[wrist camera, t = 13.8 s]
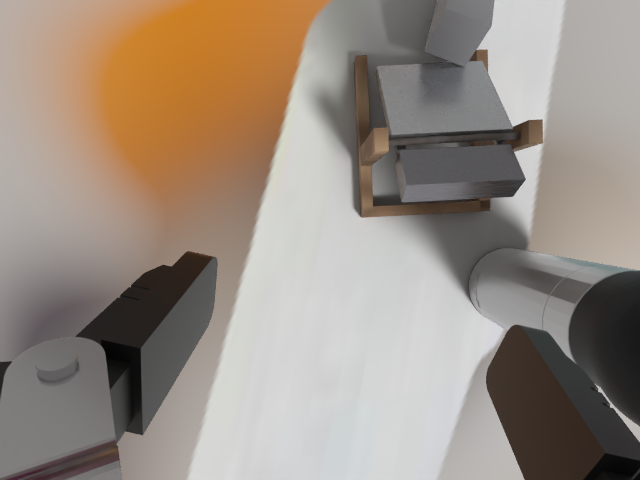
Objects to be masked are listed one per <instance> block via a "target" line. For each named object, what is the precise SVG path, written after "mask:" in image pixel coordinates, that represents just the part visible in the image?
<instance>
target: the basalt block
mask: <svg viewBox="0 0 640 480" xmlns="http://www.w3.org/2000/svg"><path fill="white" fill-rule="evenodd" d="M493 8H494V0H436V4H435V9H434V13H433V17H432V21H431V25H430V29H429V33H428V38H427V42H426V46H425V50H424V52H426V53H429V54H431V55H434V56H437V57H439V58H442V59H445V60H447V61H450V62H453V63H455V64H458V65H461V66H463V67H465V66H466V65H467V63H468V62H469V60H470V58H471V57H472V55H473V54H474V52H475V51H476V49H477V48H478V46H479V44H480V43H481V41H482V40H483V38H484V37H485V35H486V34H487V32H488V31H489V29H490V27H491V26H492V17H493Z"/></svg>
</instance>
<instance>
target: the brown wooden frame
mask: <svg viewBox="0 0 640 480" xmlns="http://www.w3.org/2000/svg"><path fill="white" fill-rule="evenodd" d="M469 61H483V64H484V66H485V68H486V70H487V72H488V50H476V51H475V52H474V54H473V55H472V57H471V58H470V60H469ZM354 76H355V99H356V121H357V144H358V167H359V190H360V212H361V217H380V216H399V215H418V214H437V213H456V212H474V211H490V198H477V199H472V201H464V202H445V203H426V204H407V205H388V206H373V193H372V169H371V165H372V164H374V163H375V162H376V161H377V160H378V159H380V158H381V157H382V156H383V155H385V154H386V153H387V152H388V151H389V146H394V145H414V144H433V143H453V142H471V146H488V145H494V142H493V140H505V143H506V145H508V144H510V145H511V147H512V149H513V151H514V152H515V151H518V150H522V149H525V148H528V147H531V146H535V145H538V144H541V143H543V126H542V120H528V121H526V122H523V123H521V124H519V125H516V126H514V127H513V130H512V132H511V133H495V134H476V135H456V136H436V137H416V138H397V139H388V127H384V128H374V129H373V130H372V132H371V133H370V120H369V96H368V72H367V55H362V56H356V57H355V61H354Z"/></svg>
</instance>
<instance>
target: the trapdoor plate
mask: <svg viewBox="0 0 640 480" xmlns="http://www.w3.org/2000/svg"><path fill="white" fill-rule="evenodd" d="M376 78H377V82H378V87H379V92H380V97H381V102H382V106H383V111H384V116H385V121H386V126H387V127H388V135H389V139H397V138H416V137H436V136H456V135H476V134H495V133H511V132H512V130H513V127H512V125H511V122H510V120H509V118H508V116H507V114H506V111H505V109H504V107H503V105H502V103H501V101H500V98H499V96H498V94H497V92H496V90H495V87H494V85H493V83H492V81H491V79H490V77H489V74H488V72H487V70H486V68H485V66H484V64H483V61H469V62H468V63H467V65H466V66H465V67H463V66H461V65H458V64H455V63H453V62H449V63H428V64H407V65H386V66H377V70H376ZM493 142H494V145H488V146H469V147H449V148H429V149H410V150H406V148H405V145H395V149H396V154H397V160H396V164H395V173H396V178H397V183H398V187H399V192H400V197H401V202H420V201H439V200H458V199H477V198H496V197H513V196H514V194H515V193H516V192H517V190H518V189H519V188H520V186H521V185H522V184H523V182H524V181H525V180H526V179H525V176H524V174H523V172H522V170H521V167H520V165H519V163H518V160H517V158H516V156H515V154H514V151H513V149H512V147H511V145H510V144H508V145H506V143H505V140H493Z"/></svg>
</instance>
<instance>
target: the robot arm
mask: <svg viewBox="0 0 640 480" xmlns="http://www.w3.org/2000/svg"><path fill="white" fill-rule="evenodd" d="M216 276H217V259H216V257H212V256H208V255H203V254H199V253H194V252H190V251H188V252H186V253H185V254H184V255H183V256H182V257H181V258H180V259H179V260H178V261H177V262H176V263H175V264H174V265H173V266H172V267H170V266H166V265H162V266H159V267H157V268H155V269H152V270H150V271H148V272H146V273H144V274H143V275H142V276H141V277H140V278H138V279H137V280H136V281H135V282H134V283H133V284H132V285H131V288H130V287H129V288H128V289H127V290H126V291H124V292H123V293H122V294H121V296H120V298H117V299H116V300H115V301H113V302H112V303H111V304H110V305H109V306H108V307H107V308H106V309H105V310H104V311H103V312H102V313H100V314H99V315H98V316H97V317H96V318H95V319H94V320H93V321H92V322H91V323H90V324H89V325H87V326H86V327H85V328H84V329H83V330H82V331H81V332H80V333H79V334H78V335H77V336H76V337H65V338H58V339H54V340H50V341H46V342H43V343H41V344H38V345H36V346H34V347H32V348H30V349H28V350H26V351H25V352H24V353H22V354H21V355H19V356H18V357H17V358H16V359H15V360H14V361H11V362H0V480H122V474H121V466H120V458H119V451H118V446H117V445H116V444H117V443H118V441H119V440H120V438H121V437H122V435H123V434H124V432H125V431H126V432H131V433H135V434H140V435H143V434H144V432H145V431H146V429H147V427H148V425H149V424H150V422H151V421H152V419H153V417H154V416H155V414H156V412H157V411H158V409H159V407H160V406H161V404H162V402H163V400H164V399H165V397H166V396H167V394H168V392H169V390H170V389H171V387H172V385H173V384H174V382H175V381H176V379H177V377H178V376H179V374H180V372H181V370H182V369H183V367H184V365H185V364H186V362H187V360H188V359H189V357H190V355H191V354H192V352H193V350H194V349H195V347H196V345H197V344H198V342H199V340H200V339H201V337H202V335H203V334H204V332H205V330H206V329H207V327H208V325H209V322H210V320H211V317H212V313H213V309H214V300H215V289H216ZM469 294H470V298H471V301H472V303H473V305H474V306H475V308H476V309H477V310H478V311H479V312H480V313H481V314H482V315H483V316H485V317H486V318H488V319H490V320H491V321H493V322H494V323H496V324H498V325H499V326H501V327H502V328H504V329H505V330H507V333H506V335H505V337H504V339H503V341H502V343H501V345H500V346H499V348H498V350H497V352H496V354H495V356H494V358H493V360H492V362H491V364H490V365H489V367H488V371H487V376H486V384H487V390H488V392H489V395H490V397H491V399H492V402H493V404H494V407H495V409H496V411H497V414H498V416H499V419H500V421H501V423H502V426H503V428H504V431H505V433H506V436H507V438H508V440H509V443H510V445H511V447H512V450H513V453H514V455H515V457H516V460H517V462H518V465H519V467H520V469H521V472H522V474H523V477H524V479H525V480H640V442H639V441H638V440H637V438H636V437H635V436H634V435H633V433H632V432H631V431H630V430H629V428H628V427H627V426H626V424H625V423H624V422H623V420H622V419H621V418H620V416H618V414H617V413H616V411H615V410H614V409H613V408H610V404H609V402H608V401H607V400H606V398H605V397H604V396H603V394H602V393H600V392H598V388H597V387H596V385H598V386H599V387H601V388H602V390H603V391H604V393H605V394H606V396H607V397H608V399H609V400H610V401H611V402H612V404H613V405H614V406H615V407H616V408H617V409H618V410H619V411H620V412H622V413H623V414H624V415H625V416H626V417H628V418H629V419H630V420H632V421H633V422H634V423H636V424H637V425H639V426H640V271H639V270H634V269H628V268H622V267H617V266H611V265H604V264H599V263H593V262H588V261H581V260H576V259H571V258H565V257H559V256H554V255H548V254H543V253H537V252H532V251H526V250H520V249H514V248H501V249H497V250H494V251H492V252H490V253H488V254H486V255H485V256H484V257H482V258H481V259H480V260H479V261H478V263H477V264H476V265H475V267H474V269H473V270H472V272H471V276H470V279H469ZM594 383H595V384H596V385H595V384H594Z"/></svg>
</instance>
